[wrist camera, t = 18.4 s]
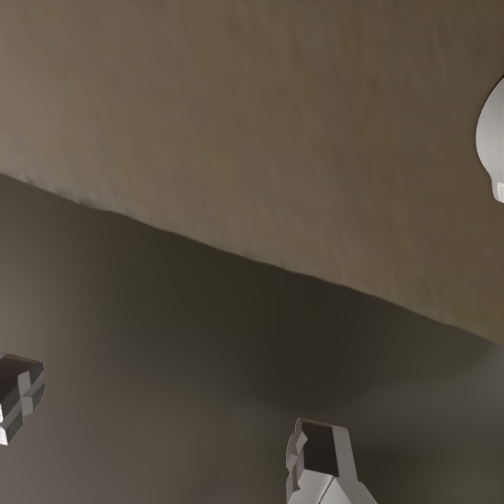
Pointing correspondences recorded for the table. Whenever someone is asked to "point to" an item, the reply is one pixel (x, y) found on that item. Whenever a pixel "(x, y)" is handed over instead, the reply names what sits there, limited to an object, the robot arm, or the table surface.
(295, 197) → the table surface
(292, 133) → the table surface
